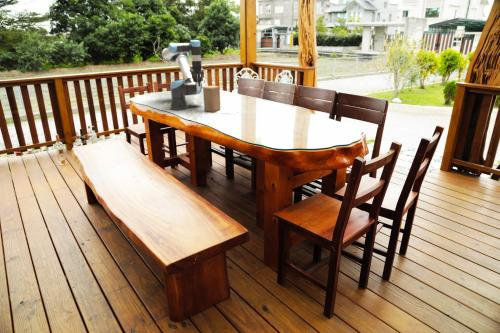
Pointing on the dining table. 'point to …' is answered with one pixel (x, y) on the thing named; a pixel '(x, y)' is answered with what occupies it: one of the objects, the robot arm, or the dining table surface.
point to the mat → (228, 111)
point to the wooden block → (211, 98)
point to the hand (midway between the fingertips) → (198, 90)
